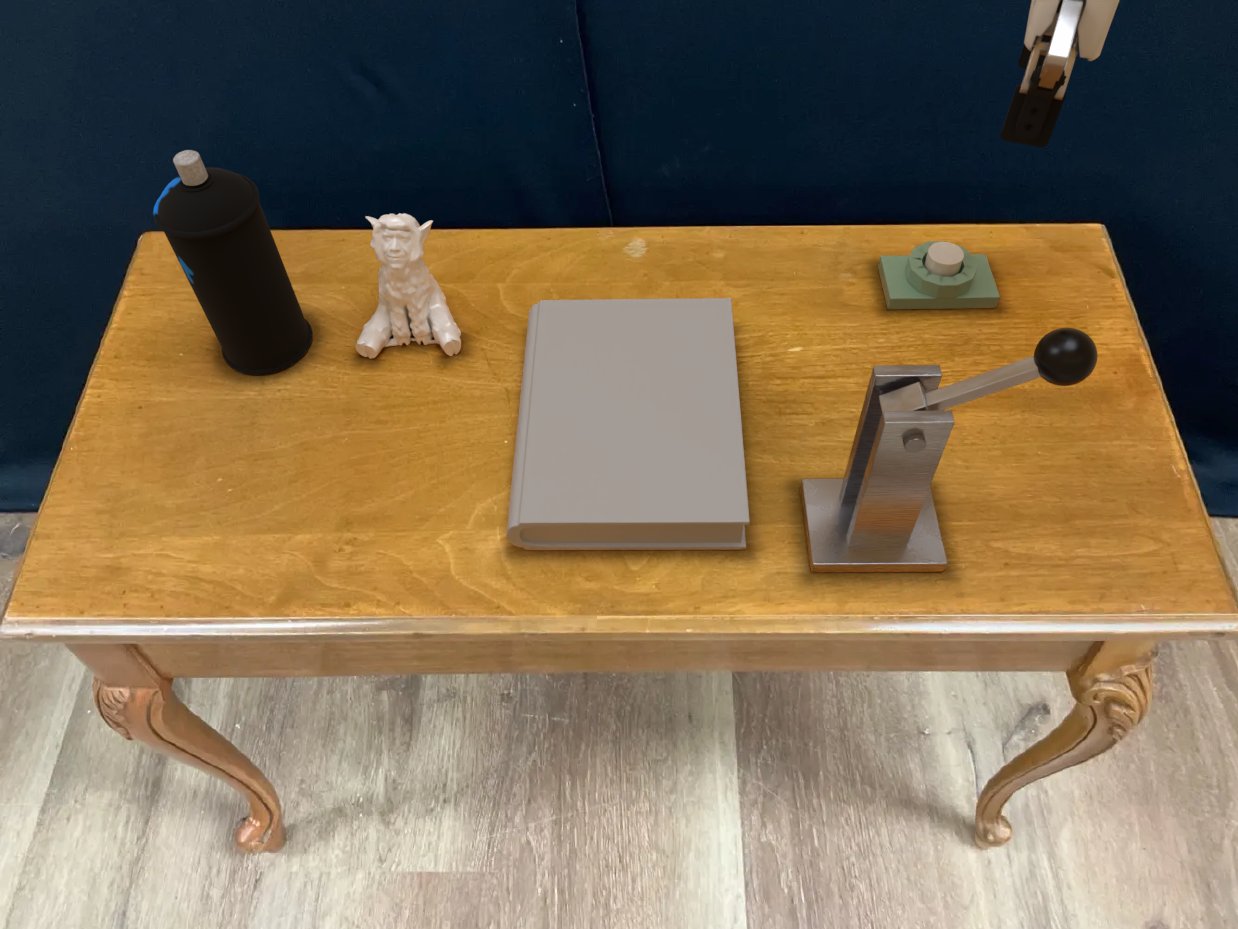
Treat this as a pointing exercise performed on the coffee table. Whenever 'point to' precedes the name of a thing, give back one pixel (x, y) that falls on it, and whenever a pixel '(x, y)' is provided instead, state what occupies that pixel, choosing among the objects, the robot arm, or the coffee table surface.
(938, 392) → the lever with ball knob
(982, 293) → the green push button base
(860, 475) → the lever stand
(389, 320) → the sitting furry creature
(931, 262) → the beige push button
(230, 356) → the aerosol can
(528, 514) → the book
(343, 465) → the coffee table surface
